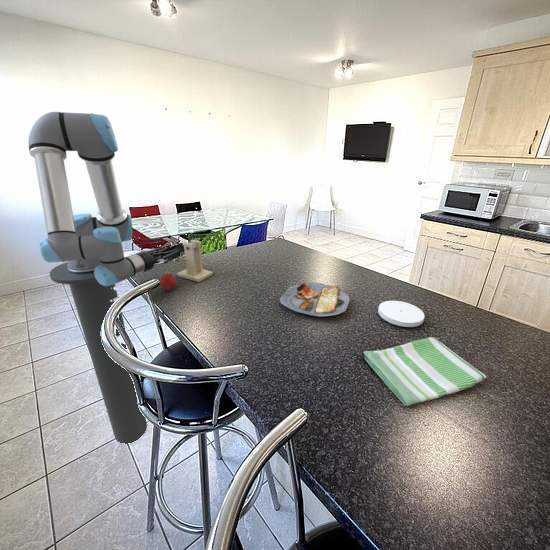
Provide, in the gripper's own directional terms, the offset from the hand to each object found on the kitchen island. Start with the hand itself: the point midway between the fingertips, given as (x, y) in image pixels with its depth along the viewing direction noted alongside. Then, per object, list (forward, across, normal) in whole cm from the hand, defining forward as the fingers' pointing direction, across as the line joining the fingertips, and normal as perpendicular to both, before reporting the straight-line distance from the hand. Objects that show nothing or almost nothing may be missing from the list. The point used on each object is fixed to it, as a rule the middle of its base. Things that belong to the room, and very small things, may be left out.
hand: (184, 246), depth 129 cm
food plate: (-1, +63, -10) cm, 64 cm away
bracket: (-5, +10, -10) cm, 15 cm away
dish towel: (-19, +99, -10) cm, 101 cm away
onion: (-21, +12, -10) cm, 26 cm away
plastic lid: (+5, +91, -10) cm, 91 cm away
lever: (-5, +6, -2) cm, 9 cm away
